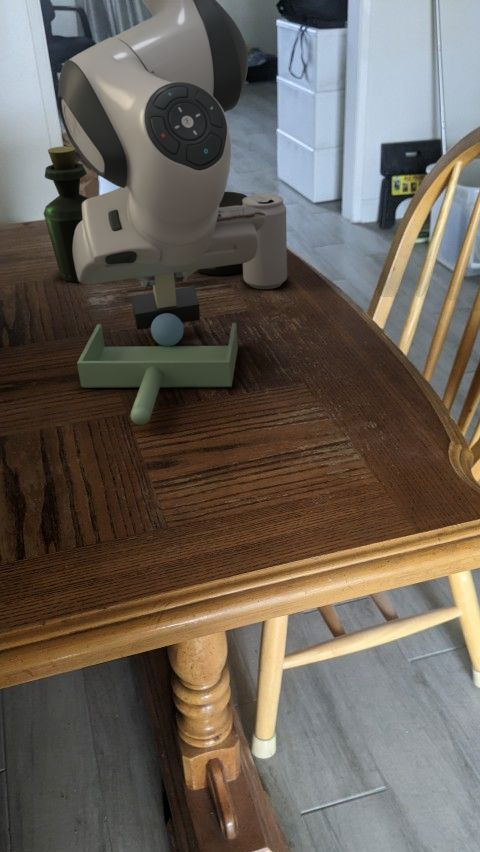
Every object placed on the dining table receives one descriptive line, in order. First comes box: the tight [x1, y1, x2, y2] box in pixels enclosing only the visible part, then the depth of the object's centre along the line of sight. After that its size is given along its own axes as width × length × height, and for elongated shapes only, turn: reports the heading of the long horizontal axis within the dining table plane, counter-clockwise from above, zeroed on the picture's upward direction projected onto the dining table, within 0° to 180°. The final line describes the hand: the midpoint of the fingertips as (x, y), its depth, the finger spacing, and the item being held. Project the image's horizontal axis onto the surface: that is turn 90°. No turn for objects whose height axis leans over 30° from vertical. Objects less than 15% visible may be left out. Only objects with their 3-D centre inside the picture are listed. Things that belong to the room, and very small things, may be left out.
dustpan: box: [76, 322, 239, 426], centre depth 87 cm, size 20×17×3 cm
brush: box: [130, 273, 201, 331], centre depth 93 cm, size 8×3×13 cm, turn 104°
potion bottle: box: [43, 145, 90, 283], centre depth 113 cm, size 8×8×18 cm
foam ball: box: [150, 313, 185, 346], centre depth 96 cm, size 4×4×4 cm
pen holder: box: [196, 191, 248, 277], centre depth 117 cm, size 9×9×10 cm
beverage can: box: [242, 193, 288, 290], centre depth 111 cm, size 6×6×12 cm
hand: (162, 278), depth 93 cm, fingers closed on brush, 2 cm apart
